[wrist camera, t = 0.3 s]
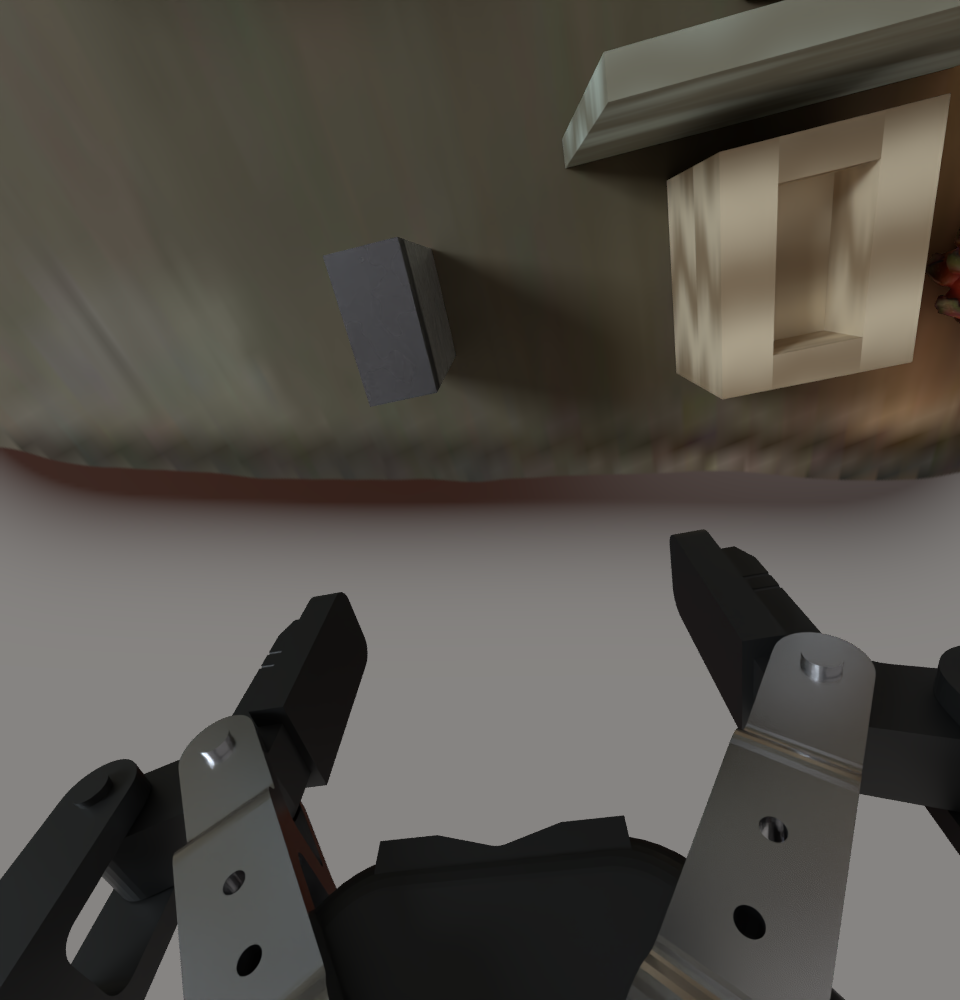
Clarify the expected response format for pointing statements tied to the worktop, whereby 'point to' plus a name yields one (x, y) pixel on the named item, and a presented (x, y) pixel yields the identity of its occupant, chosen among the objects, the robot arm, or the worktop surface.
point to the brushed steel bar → (393, 317)
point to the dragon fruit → (947, 279)
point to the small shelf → (787, 183)
